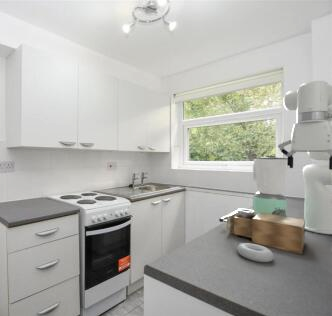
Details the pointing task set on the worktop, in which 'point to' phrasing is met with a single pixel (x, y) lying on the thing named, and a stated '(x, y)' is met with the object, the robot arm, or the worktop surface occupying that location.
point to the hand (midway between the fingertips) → (310, 168)
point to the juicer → (270, 185)
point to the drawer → (238, 224)
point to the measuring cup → (246, 213)
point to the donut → (255, 252)
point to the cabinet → (279, 232)
